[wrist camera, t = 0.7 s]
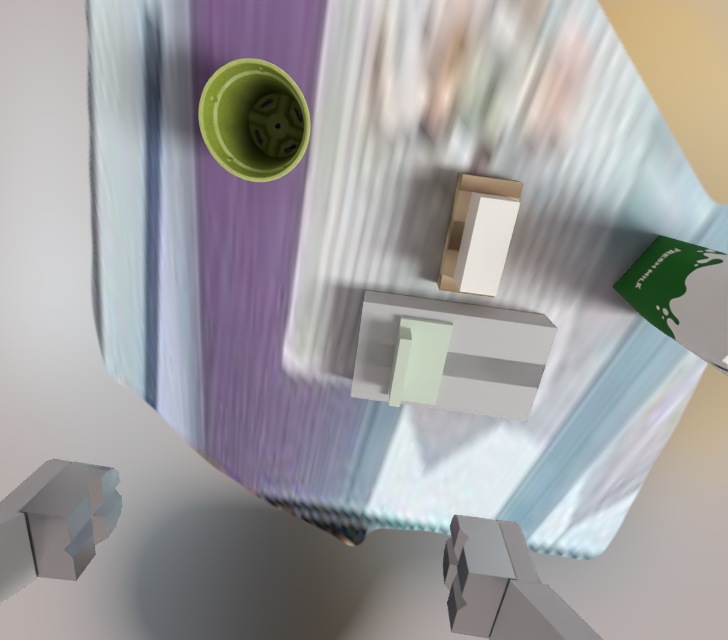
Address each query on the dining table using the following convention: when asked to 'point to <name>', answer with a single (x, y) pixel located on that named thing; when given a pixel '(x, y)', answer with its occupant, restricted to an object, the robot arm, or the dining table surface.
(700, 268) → the milk carton
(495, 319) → the socket
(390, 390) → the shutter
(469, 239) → the plug
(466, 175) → the holder
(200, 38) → the dining table surface
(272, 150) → the plant pot
